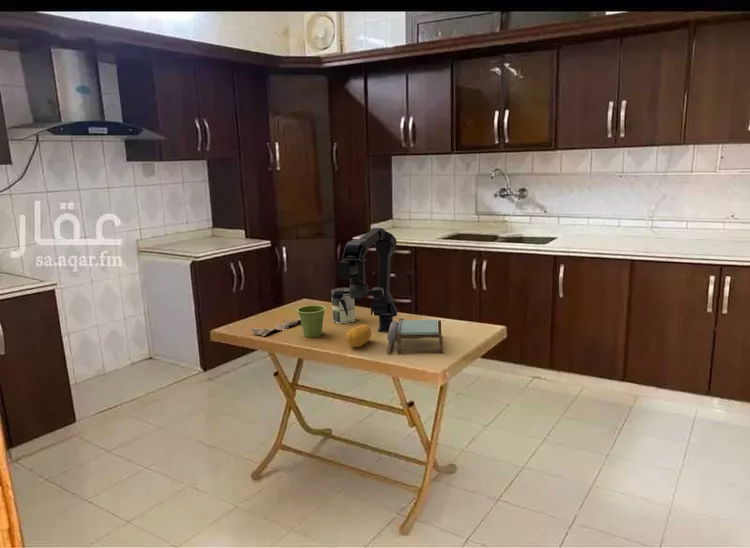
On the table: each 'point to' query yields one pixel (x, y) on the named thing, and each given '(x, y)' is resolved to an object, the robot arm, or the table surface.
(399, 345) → the trapdoor frame
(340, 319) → the coffee can
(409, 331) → the trapdoor
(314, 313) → the plant pot
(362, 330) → the potato
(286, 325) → the crumpled grey wrapper
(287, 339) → the table surface
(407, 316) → the table surface
